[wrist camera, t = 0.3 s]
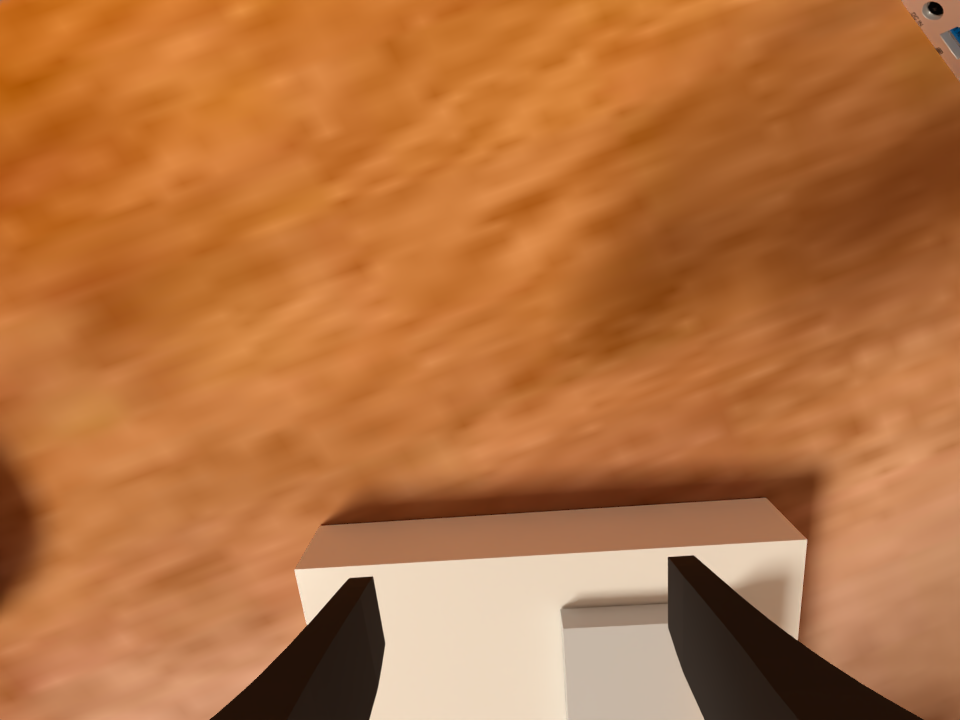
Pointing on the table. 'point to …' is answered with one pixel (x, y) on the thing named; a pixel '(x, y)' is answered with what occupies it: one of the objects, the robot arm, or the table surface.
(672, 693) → the shutter
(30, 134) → the table surface
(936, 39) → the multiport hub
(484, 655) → the socket plate
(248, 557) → the table surface
